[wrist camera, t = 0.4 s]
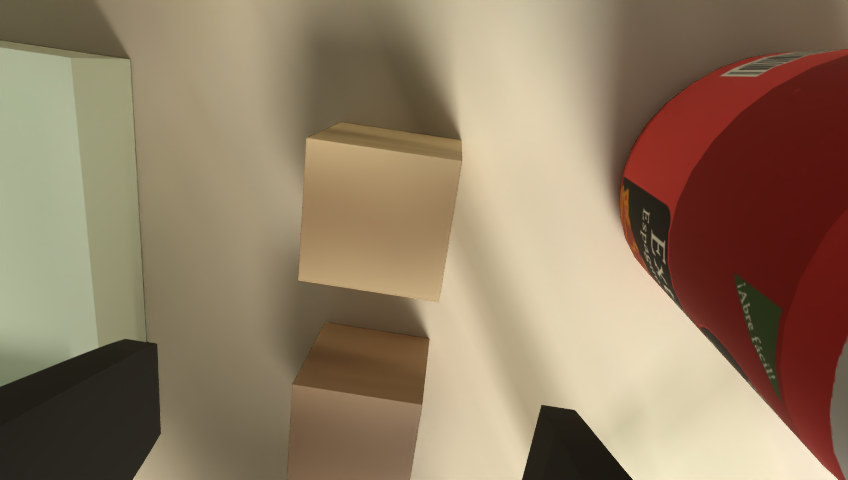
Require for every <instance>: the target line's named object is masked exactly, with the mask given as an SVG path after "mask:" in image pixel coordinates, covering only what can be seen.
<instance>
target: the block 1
mask: <svg viewBox="0 0 848 480" xmlns="http://www.w3.org/2000/svg"><path fill="white" fill-rule="evenodd" d="M461 165H462V142H461V140H458V139H451V138H444V137H437V136H431V135H424V134H417V133H410V132H404V131H397V130H390V129H383V128H377V127H370V126H363V125H356V124H350V123H343V122H340V123H338V124H336V125H334V126H332V127H329V128H327V129H325V130H323V131H321V132H318V133H316V134H314V135H312V136H310V137H308V138H306V155H305V172H304V190H303V207H302V225H301V242H300V260H299V277H298V281H305V282H311V283H318V284H324V285H331V286H337V287H344V288H350V289H357V290H363V291H370V292H376V293H383V294H389V295H395V296H402V297H408V298H415V299H421V300H428V301H434V302H439V299H440V293H441V287H442V281H443V275H444V269H445V263H446V257H447V251H448V244H449V238H450V232H451V226H452V220H453V214H454V208H455V202H456V196H457V190H458V183H459V177H460V171H461Z"/></svg>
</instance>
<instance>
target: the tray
mask: <svg viewBox="0 0 848 480" xmlns="http://www.w3.org/2000/svg"><path fill="white" fill-rule="evenodd" d="M123 339H130V340H136V341H142V342H147V341H146V324H145V307H144V290H143V273H142V256H141V238H140V221H139V204H138V187H137V170H136V153H135V135H134V118H133V101H132V84H131V67H130V59H123V58H117V57H110V56H103V55H96V54H89V53H83V52H76V51H69V50H62V49H55V48H49V47H42V46H35V45H28V44H21V43H15V42H8V41H1V40H0V387H1V386H3V385H6V384H8V383H11V382H13V381H16V380H18V379H21V378H23V377H26V376H28V375H31V374H33V373H36V372H38V371H41V370H43V369H46V368H48V367H51V366H53V365H56V364H58V363H61V362H63V361H66V360H68V359H71V358H73V357H76V356H78V355H81V354H83V353H86V352H89V351H91V350H94V349H97V348H99V347H102V346H105V345H107V344H110V343H113V342H117V341H120V340H123Z"/></svg>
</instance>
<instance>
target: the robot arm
mask: <svg viewBox="0 0 848 480" xmlns="http://www.w3.org/2000/svg"><path fill="white" fill-rule="evenodd" d="M160 434H161V427H160V403H159V378H158V354H157V344H155V343H149V342H142V341H136V340H130V339H123V340H120V341H117V342H113V343H110V344H107V345H105V346H102V347H99V348H97V349H94V350H91V351H89V352H86V353H83V354H81V355H78V356H76V357H73V358H71V359H68V360H66V361H63V362H61V363H58V364H56V365H53V366H51V367H48V368H46V369H43V370H41V371H38V372H36V373H33V374H31V375H28V376H26V377H23V378H21V379H18V380H16V381H13V382H11V383H8V384H6V385H3V386H1V387H0V480H133V478H134V476H135V475H136V473H137V472H138V470H139V469H140V467H141V465H142V464H143V462H144V461H145V459H146V457H147V456H148V454H149V452H150V451H151V449H152V447H153V446H154V444H155V442H156V441H157V439H158V437H159V436H160ZM522 480H633V479H632V478H631V477H630V476H629V475H628V474H627V472H626V471H625V470H624V469H623V468H622V466H621V465H620V464H619V463H618V462H617V460H616V459H615V458H614V457H613V456H612V454H611V453H610V452H609V451H608V449H607V448H606V447H605V446H604V445H603V443H602V442H601V441H600V440H599V438H598V437H597V436H596V435H595V434H594V432H593V431H592V430H591V429H590V428H589V426H588V425H587V424H586V423H585V421H584V420H583V419H582V418H581V417H580V416H579V414H578V413H577V412H576V411H575V410H570V409H564V408H558V407H551V406H545V405H541V409H540V413H539V417H538V421H537V425H536V428H535V432H534V436H533V440H532V444H531V448H530V452H529V455H528V459H527V463H526V467H525V471H524V475H523V478H522Z"/></svg>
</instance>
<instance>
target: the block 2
mask: <svg viewBox="0 0 848 480" xmlns="http://www.w3.org/2000/svg"><path fill="white" fill-rule="evenodd" d="M428 347H429V338H422V337H416V336H410V335H403V334H397V333H390V332H384V331H377V330H371V329H365V328H358V327H352V326H345V325H339V324H332V323H326V322H325V324H324V326H323V327H322V329H321V331H320V333H319V335H318V337H317V339H316V341H315V343H314V344H313V346H312V348H311V350H310V352H309V354H308V356H307V358H306V360H305V362H304V363H303V365H302V367H301V369H300V371H299V373H298V375H297V377H296V379H295V380H294V382H293V384H292V400H291V418H290V435H289V453H288V470H287V480H410V476H411V470H412V464H413V458H414V452H415V446H416V440H417V433H418V427H419V421H420V415H421V409H422V402H423V393H424V384H425V375H426V365H427V356H428Z"/></svg>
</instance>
